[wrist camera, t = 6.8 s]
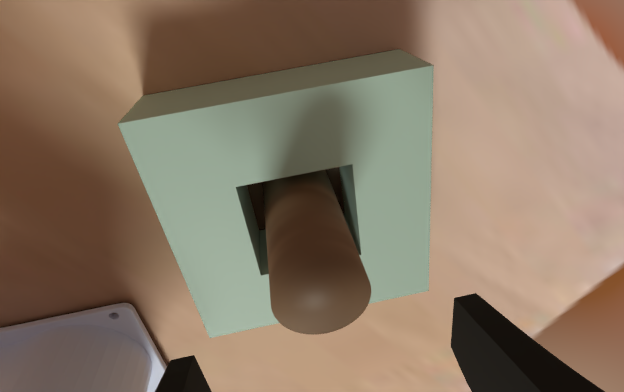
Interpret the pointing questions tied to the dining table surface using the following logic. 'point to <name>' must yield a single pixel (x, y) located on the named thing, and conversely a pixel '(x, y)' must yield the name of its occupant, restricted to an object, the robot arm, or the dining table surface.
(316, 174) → the walnut peg
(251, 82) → the socket block
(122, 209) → the dining table surface
